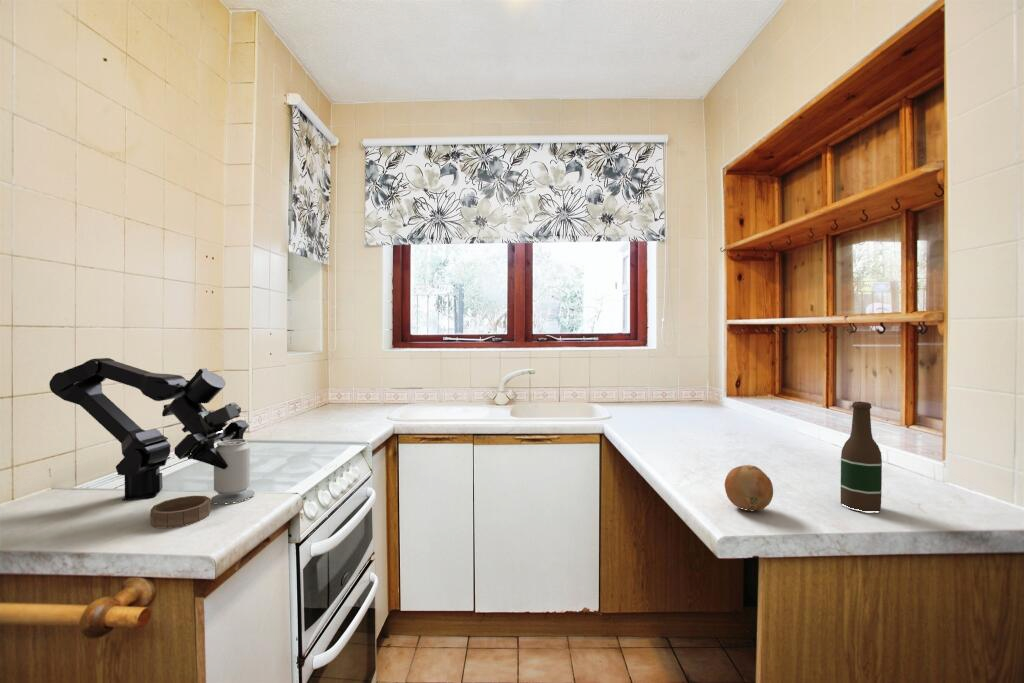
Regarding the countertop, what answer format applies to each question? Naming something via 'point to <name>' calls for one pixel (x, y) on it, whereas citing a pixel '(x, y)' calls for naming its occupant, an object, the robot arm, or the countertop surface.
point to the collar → (180, 511)
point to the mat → (232, 497)
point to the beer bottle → (861, 464)
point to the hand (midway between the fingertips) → (237, 463)
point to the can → (233, 467)
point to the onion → (749, 487)
